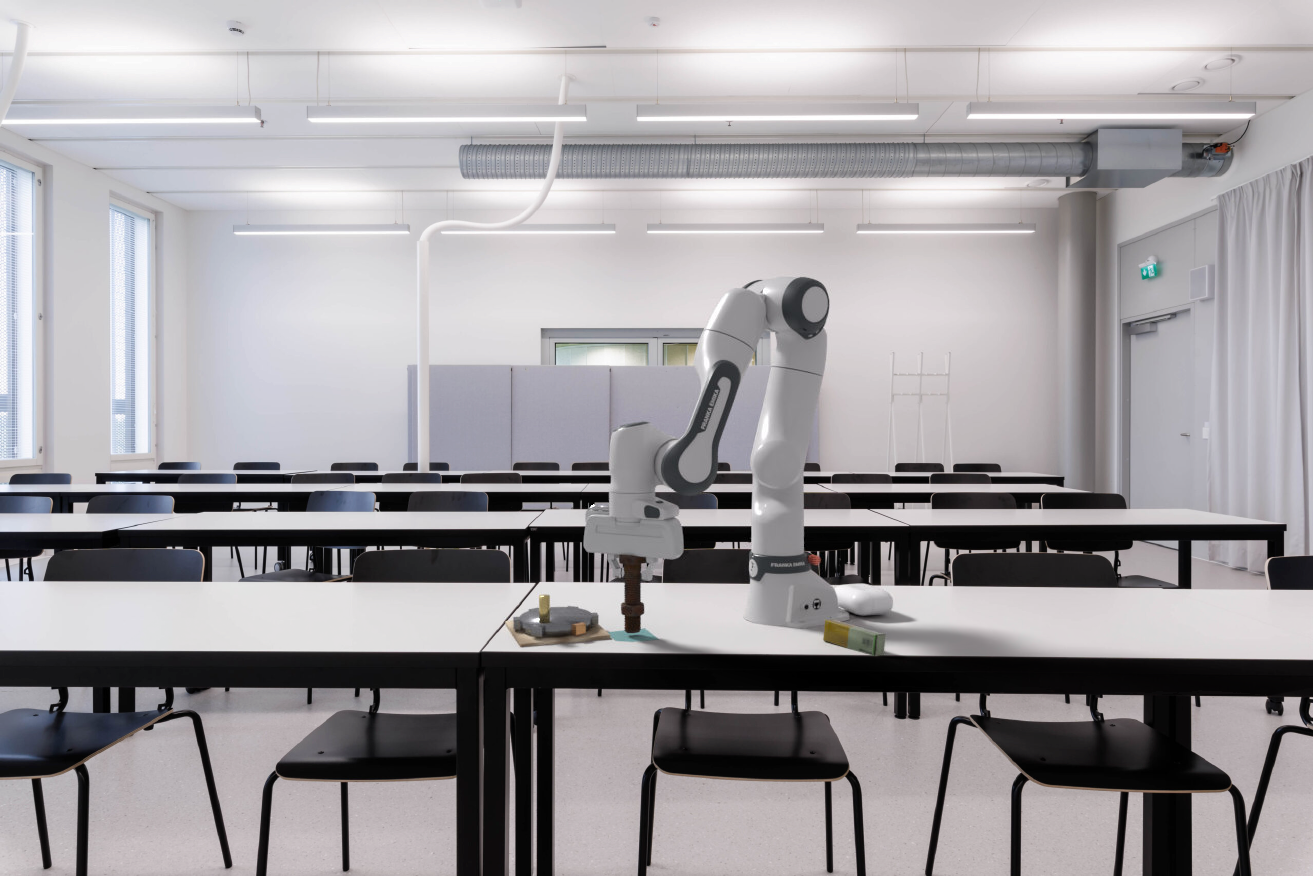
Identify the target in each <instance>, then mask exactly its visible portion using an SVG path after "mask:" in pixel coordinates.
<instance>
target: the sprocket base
mask: <svg viewBox="0 0 1313 876" xmlns="http://www.w3.org/2000/svg"><path fill="white" fill-rule="evenodd" d="M504 624H505V627H506V628H507V630H508V631H509V633H510V634H511V636H512V637H513V639H514V640H515V642H516V643H517V645H518V646H519V648H524V646H526V647H535V645H537V646H546V645H545V644H548V645H558V644H571V643H579V642H589V641H600V640H611V637H610V634H609V633H608V632H609V631H607V630H605V628H603V626H601V625H600V624H599V623H598V624H596V625H592V626H591V628H589V629H588V630H586V633H583V634H579V635H574V634H570V635H561V636H543V637H535V636H531V634H528V633H525V632H523V631H522V630H521V629H514V628H513V619H512V620H505V623H504Z"/></svg>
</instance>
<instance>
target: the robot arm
mask: <svg viewBox="0 0 1313 876" xmlns="http://www.w3.org/2000/svg"><path fill="white" fill-rule="evenodd" d="M829 312H830V297H829V293H828V289H827V288H826V286H825V285H824V284H823V283H822V281H821V282H820V280H818V279H814V278H812V277H811V278H810V277H807V276H800V277H799V276H798V277H793V276H779V277H778V276H777V277H774V278H769V279H757V280H753V281H750V282H748V283H747V284H745V285H743V286H742V287H735V288H731V289H729V290H727V291H726V292H725V293H723V295H722V296H721V298H720V299H719V301H718V303H717V304H716V305H715V307H714V309H713V311H712V312H711V314H710V316H709V317H708V320H707V321H706V324H705V326H704V328H703V330H702V332H701V335H700V337H699V339H698V343H697V345H696V348H695V351H694V352H695V353H694V357H693V363H692V364H693V367H694V371H695V373H696V375H697V376H698V378H699V380H700V382H699V383H700V393H699V396H698V399H697V401H696V404H695V407H694V410H693V412H692V415H691V417H690V420H689V423H688V425H687V428H686V430H685V433H683V435H682V436H681V437H680V438H678V437H677V436H673V435H672V434H671V435H670V434H669V433H666V432H664V431H662V430H661V429H659V428H657V427H655V425H653V424H652V423H651V422H648V421H637V422H631V423H626V424H622V425H619V426H617V427H616V428H615V429H614V430H613V431H612V433H611V436H610V443H609V454H608V469H609V475H610V483H609V489H608V491H609V492H608V501H609V502H608V504H607V505H599V504H593V505H591V506H590V507H588V508H587V509H586V511H585V513H584V514H585V517H584V518H585V519H584V520H585V527H584V535H583V548H584V549H585V551H586V552H587V553H591V554H592V553H595V554H604V555H605V554H606V555H607V557H606V560H607V562H608V563H609V565H610V567H611V569H612V577H613V578H616V579H621V578H624V576H625V575H624V567H621V566H620V563H619V560H618V559H619V555H631V556H639V557H646V564H648V566H646V567H647V568H646V569H645V570H641V574H640V575H641V581H646V582H650V581H652V580H653V571H654V569H655V568H656V566H657V564H658V562H659V559H665V560H676V559H679V558H681V556H682V555H683V553H684V548H685V547H684V533H683V526H682V522H681V521H680V520H679V519H678V518H677V517H678V516H679V514H680V507H679V506H678V505H677V504H675V503H672V502H669V501H667V500H665V499H663V498H660V497H657V496H656V488H657V486H665V487H667V488H668V489H670V490H672V491H674V492H675V493H677V494H679V495H682V496H689V497H690V496H697V495H700V494H702V493H705V491H707V490H709V488H710V487H711V486H712V485H713V484H714V481H715V480H716V477H717V475H718V471H719V469H718V468H719V446H720V442H721V439H722V436H723V433H724V431H725V427H726V424H727V422H728V419H729V416H730V413H731V411H732V407H733V405H734V401H735V399H736V396H737V394H738V393H737V392H738V390H739V388H740V386H741V384H742V381H743V379H744V376H745V375H746V373H747V371H748V368H749V366H750V365H751V364H750V363H751V362H752V360H753V357H754V354H755V352H756V350H757V347H758V345H759V342H760V339H761V336H762V335H763V334H764V333H765V332H769V333H774V335H775V340H776V347H775V351H774V354H773V358H772V362H771V367H770V371H769V376H768V379H767V380H768V381H767V384H766V389H765V392H764V393H765V394H764V399H763V404H762V408H761V411H760V416H759V419H758V424H757V429H756V433H755V438H754V440H753V446H752V450H751V455H750V460H749V465H750V470H751V473H752V493H751V519H750V521H751V526H750V527H751V537H750V539H751V546H750V547H751V550H750V551H749V555H748V557H749V559H748V564H749V565H748V571H749V587H748V588H749V591H748V595H747V601H746V607H745V610H744V614H743V618H744V620H746V621H749V622H751V623H752V624H753V623H754V624H758V625H763V626H771V627H774V626H775V627H783V628H784V627H786V628H790V629H791V628H792V629H805V628H811V627H816V626H818V627H819V626H823V625H824V626H825V620H837V621H840V622H844V621H850V620H851V619H850V612H849V611H847V610H845V609H843V608H841V607H839V605H838V598H837V594H836V591H835V587H833V585H831V584H830V583H829V582H827V580H825V579H823V577H821V576H820V575H818V574H817V573H816V572H815V571H813V570H812V567H811V565H815V566H819V565H820V563H821V560H822V559H821V557H820V556H819V555H815V554H808V553H807V552H805V547H804V544H805V541H804V537H805V531H804V530H805V510H804V509H805V508H804V507H805V505H804V503H805V502H804V501H805V499H804V497H805V496H804V493H805V492H804V491H805V490H804V487H805V486H804V483H805V482H804V478H805V477H804V472H805V471H804V470H805V465H806V460H807V455H808V450H809V446H810V440H811V436H812V430H813V426H814V420H815V416H816V411H817V408H818V407H817V406H818V401H819V397H820V393H821V387H822V384H823V379H824V374H825V368H826V361H827V351H828V333H827V332H826V329H825V328H824V327H825V326H826V323H827V319H828V316H829Z"/></svg>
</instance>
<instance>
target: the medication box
mask: <svg viewBox="0 0 1313 876" xmlns="http://www.w3.org/2000/svg"><path fill="white" fill-rule="evenodd" d="M822 638H823V639H822V640H823V641H824V642H827V643H830V644H834V645H837V646H840V647H843V648H845V649H849V650H852V651H855V652H859V653H862V654H866V655H870V656H874V657H878V656H883V655H884V654H885V647H886V634H884V633H881V632H878V631H875V630H872V629H871V630H870V629H867V628H864V627H861V626H857V625H854V624H851V623H846V622H844V621H837V620H825V624H824V628H823V637H822Z"/></svg>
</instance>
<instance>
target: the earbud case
mask: <svg viewBox="0 0 1313 876" xmlns="http://www.w3.org/2000/svg"><path fill="white" fill-rule="evenodd" d="M834 589H835V591H836V594H837V598H838V605H839V608H841V609H843V610H845V611H846V612H848V613H852V614H854V615H858V616H873V615H875V616H876V615H884V614H887V613H889V612H890V611H891V610H892V609H893V607H894V600H893V597H892V595H891V594H890V593H889V592H887V591H886V590H884V589H883V588H882V589H881V588H879V587H876V586H874V585H870V584H867V583H849V584H840V585H837V586H835V587H834Z"/></svg>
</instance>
